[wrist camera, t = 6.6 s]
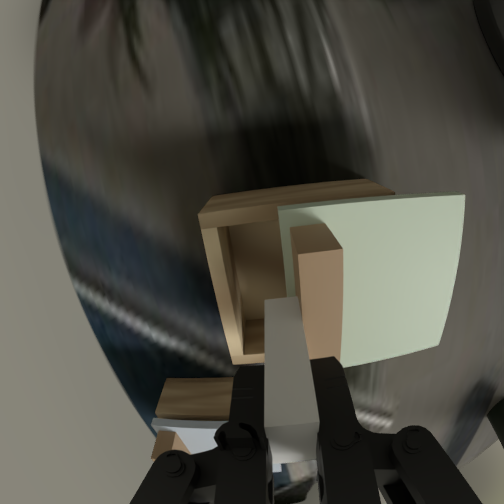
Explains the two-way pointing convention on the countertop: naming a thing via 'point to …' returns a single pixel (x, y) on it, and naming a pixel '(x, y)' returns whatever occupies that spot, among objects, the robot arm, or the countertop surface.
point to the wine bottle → (498, 420)
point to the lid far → (187, 436)
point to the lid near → (372, 272)
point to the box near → (257, 253)
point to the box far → (195, 399)
